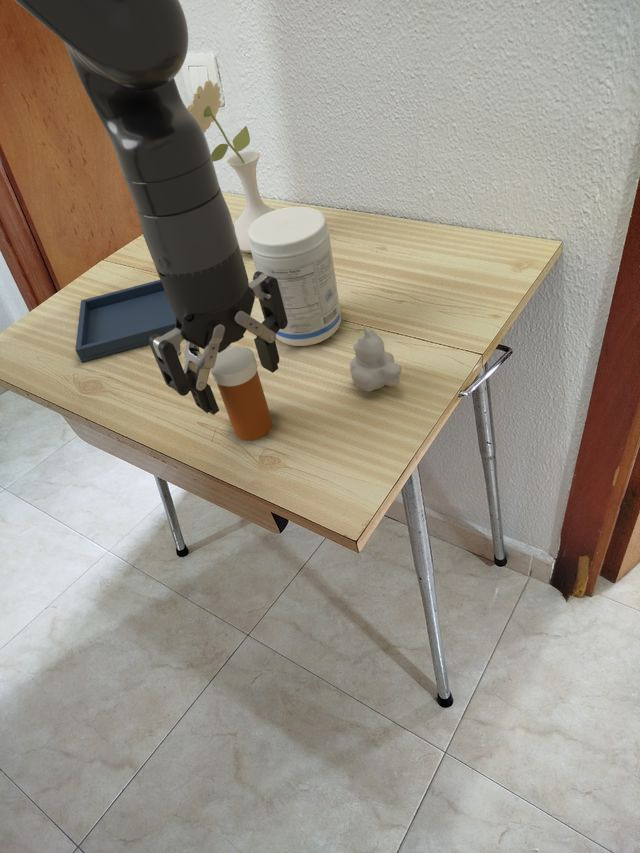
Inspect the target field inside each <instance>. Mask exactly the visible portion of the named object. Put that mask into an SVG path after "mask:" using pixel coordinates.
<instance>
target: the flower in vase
mask: <svg viewBox="0 0 640 853" xmlns="http://www.w3.org/2000/svg"><path fill="white" fill-rule="evenodd" d="M221 95H222V93H221V88H220V86H219V83H218V82H215V83H213V82H212V80H211V79H209V80H206V81H205V82H204V84H203V86H201V85H198V86H197V88H196V93H194V94H193V100H192V103H190V104H188V105H187V107H186V108H187V109H188V110H189V112H190V113H191V114H192V115H193V116H194V117H195V119H196V120H197V121H198V123H199V124H200V126H201V128H202V130H203V132H204V134H206V132H207V130H209V129H210V128H211V125H212V123H215V124H216V126H217V127H218V130H219V131H220V133H222V136H223V138H224V140H225V142H226V143H220V144H218V145H217V146H216V147H215V148H214V149H213V150H212V152H211V153H210V154H211V157H212V161H213V163H214V162H219V161H220V160H222V159H224V157H225V155H226V153H227V151H228V149H229V147H230V149H231V150H232V151H233V152H234V153H235V154H233V155H231V156H230V157H229V158H228V159H227V160H226V162H227V164H228V165H229V166H230V167H231V168H232V169H233V170H234V171H235V173H236V174H237V177H238V178H239V180H240V184H241V186H242V189H243V192H244V197H245V208H244V210H243V211H242V213H241V214H240V215H239V217H237V219H236V220H235V221H234V222H233V224H234V227H235V232H236V236H237V240H238V244H239V247H240V251H241V253H245V254H247V253H249V254H252V253H251V248H250V244H249V242H250V240H249V236H248V230H249V227H250V226H251V224H252V223H253V222H254V221H255V220H256V219H258V218H259V217H261V216H262V215H264V214H266V213H269V212H271V211H274V210H277V209H275V208H273V207H271V206H269V205H267V204H265V203H264V201H263V200H262V198H261V195H260V190H259V186H258V181H257V180H258V179H257V167H258V166H257V165H258V162H259V159H260V156H261V155H260V154H261V153H259V152H258V151H255V150H253V151H252V150H251V151H248V150H247V151H243V150H244V149H245V148H246V147H248V146H249V145H250V142H251V136H250V133H249V129H248V127H247V125H245V126H244V127H243V128H242V129H241V130H240V131H239V132H238V133H237V134H236V135H235V136H234V137H233V139H232V143H231V142H230V140H229V139H228V137H227V134H226V133H225V131H224V130H223V128H222V126H221V125H220V123H219V122H218V119H217V118H216V117H217V114H218V113H219V108H220V106H221V103H222V101H221V100H220V99H221Z"/></svg>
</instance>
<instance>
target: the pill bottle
mask: <svg viewBox="0 0 640 853" xmlns="http://www.w3.org/2000/svg"><path fill="white" fill-rule="evenodd" d="M255 356H256V355H255V353H254V351H252V349H250V348H248V347H245V346H241V345H240V346H232V347H231V346H230V347H227V348H226V349H225V350H223V351H222V352H220V353H217V358H216V362H215V366H214V368H211V369H210V373H211V377H212V379H213V381H214V382H215V383H216V385H217V389H218V391H219V394H220V397H221V400H222V402H223V405H224V408H225V410H226V413H227V415H228V418H229V422H230V424H231V427H232V429H233V433H234V435H235V436H236V437H237V438H238V439H240V440H242V441H255V440H258V439H261V438H263V437H265V436H266V435H267V434H268V433H270V431H271V430H272V427H273V419H272V416H271V413H270V412H271V411H270V409H269V405H268V402H267V399H266V396H265V392H264V389H263V385H262V381H261V379H260V375H259V372H258V363H257V359H256V357H255Z"/></svg>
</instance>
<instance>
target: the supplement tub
mask: <svg viewBox="0 0 640 853" xmlns="http://www.w3.org/2000/svg"><path fill="white" fill-rule="evenodd" d="M248 236H249V240H250V242H249V244H250V248H251V253H250V254H251V257H252V260H253V265H254V268H255V273H256V272H257V271H260V272H262V273H265V274H267V275H269V276H271V277H274V278H276V279H277V281H278V285H279V289H280V293H281V297H282V301H283V305H284V308H285V312H286V316H287V320H288V324H287V326H286V328H285V329H280V330H279V331H278V332H277V333H276V339H277V340H278V341H279V342H281V343H283V344H285V345H289V346H293V347H305V346H312V345H315V344H319V343H322V342H324V341H325V340H327V339H329V338H330V337H332V336H333V335H334V334H335V333H336V332H337V331H338V329H339V328H340V326H341V323H342V314H341V312H342V311H341V306H340V305H341V304H340V299H339V292H338V285H337V278H336V270H335V264H334V257H333V251H332V244H331V238H330V230H329V226H328V223H327V219H326V216H325V214H324V213H323V212H322V211H320V210H318V209H317V208H313V207H310V206H298V205H297V206H286V207H282V208H278V209H276V210H274V211H271V212H269V213H266V214H264V215H262V216H261V217H259V218H258V219H256V220H255V221H254V222H253V223H252V224H251V226H250V227H249V230H248Z"/></svg>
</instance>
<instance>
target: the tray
mask: <svg viewBox="0 0 640 853" xmlns="http://www.w3.org/2000/svg"><path fill="white" fill-rule="evenodd" d="M175 322H176V318H175V314H174V312H173V310H172V308H171V305H170V303H169V301H168V298H167V295H166V293H165V290H164V288H163V285H162V283H161V280H160V279H157V280H154V281H149V282H146V283H143V284H137V285H134V286H131V287H127V288H123V289H119V290H115V291H112V292H108V293H104V294H100V295H96V296H93V297H88V298H84V299H81V300H80V306H79V315H78V324H77V333H76V342H75V352H76V354H77V356H78V358H79V360H80V362H81V363H85V362H88V361H92V360H96V359H99V358H104V357H106V356H110V355H113V354H117V353H122V352H126V351H129V350H133V349H136V348H140V347H144V346H148V345H150V344H149V338H150V336H152V335H153V334H158V335H159V336H163V335H164V334H166V333H168V332H170V331H171V330H173V329H175Z"/></svg>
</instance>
